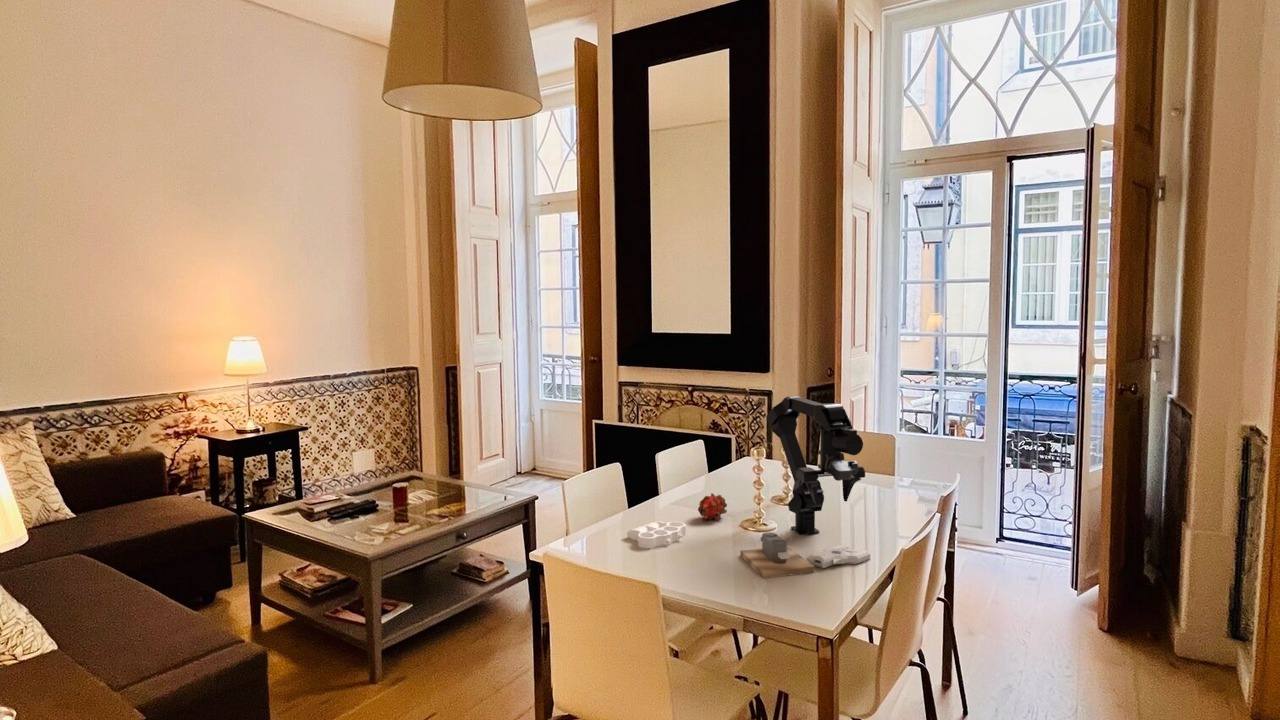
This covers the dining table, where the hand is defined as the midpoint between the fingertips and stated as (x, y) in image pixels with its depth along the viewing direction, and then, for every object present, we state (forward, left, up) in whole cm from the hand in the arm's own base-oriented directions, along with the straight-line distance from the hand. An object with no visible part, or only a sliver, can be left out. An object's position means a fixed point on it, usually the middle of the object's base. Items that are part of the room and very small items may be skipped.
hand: (830, 502), depth 199 cm
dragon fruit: (-31, -25, -12) cm, 42 cm away
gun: (+12, -4, -13) cm, 18 cm away
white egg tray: (-18, -46, -13) cm, 51 cm away
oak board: (+10, -21, -12) cm, 26 cm away
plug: (+9, -21, -10) cm, 25 cm away
